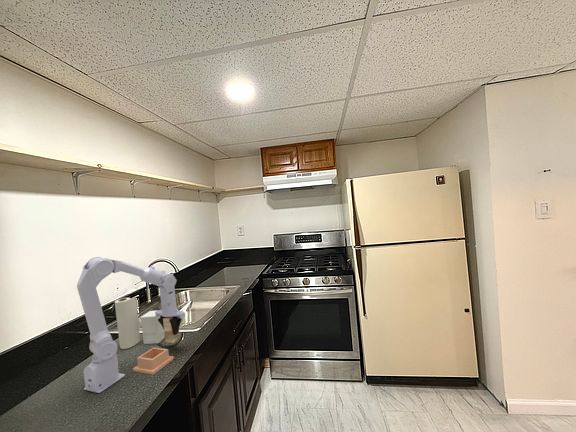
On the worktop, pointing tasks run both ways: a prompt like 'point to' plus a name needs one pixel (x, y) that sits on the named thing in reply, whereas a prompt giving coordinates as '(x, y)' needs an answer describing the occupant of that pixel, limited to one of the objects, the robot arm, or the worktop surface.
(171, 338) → the birch peg
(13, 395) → the worktop surface
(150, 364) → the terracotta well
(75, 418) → the worktop surface
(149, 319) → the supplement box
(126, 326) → the paper towel roll
